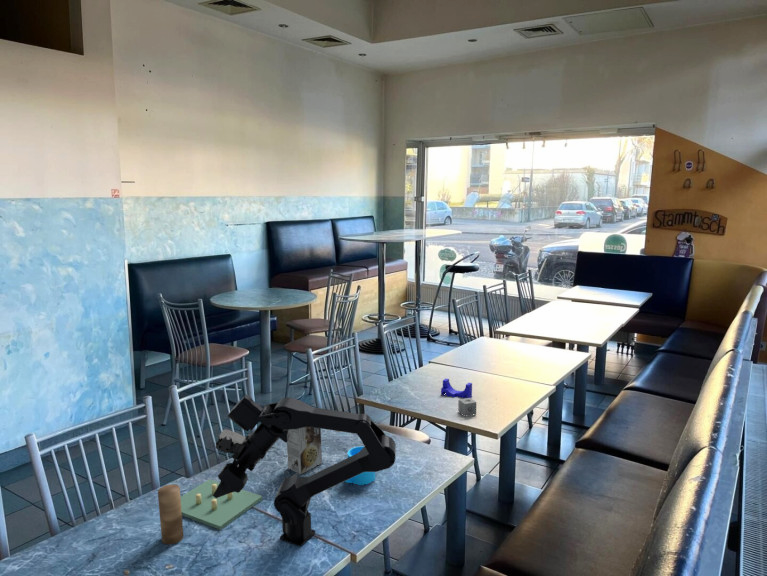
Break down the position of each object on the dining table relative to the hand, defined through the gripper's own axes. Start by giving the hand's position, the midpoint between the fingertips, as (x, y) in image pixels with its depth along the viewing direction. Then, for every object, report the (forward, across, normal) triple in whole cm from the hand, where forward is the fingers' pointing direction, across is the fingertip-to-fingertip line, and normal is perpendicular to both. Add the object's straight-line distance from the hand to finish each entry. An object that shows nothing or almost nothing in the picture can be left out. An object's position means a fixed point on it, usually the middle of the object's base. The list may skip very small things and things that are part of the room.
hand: (220, 486), depth 135 cm
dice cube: (-36, -78, +62) cm, 106 cm away
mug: (-10, -27, +32) cm, 44 cm away
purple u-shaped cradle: (-35, -96, +60) cm, 119 cm away
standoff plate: (+14, -14, +4) cm, 21 cm away
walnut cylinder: (+18, +1, 0) cm, 18 cm away
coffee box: (+1, -36, +20) cm, 41 cm away
